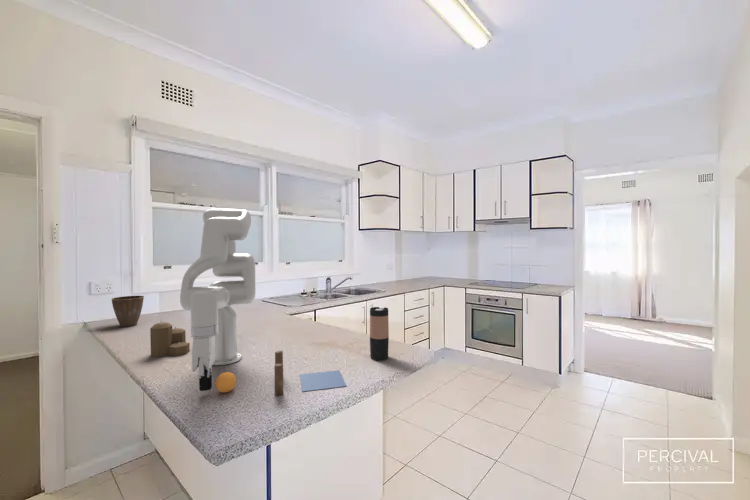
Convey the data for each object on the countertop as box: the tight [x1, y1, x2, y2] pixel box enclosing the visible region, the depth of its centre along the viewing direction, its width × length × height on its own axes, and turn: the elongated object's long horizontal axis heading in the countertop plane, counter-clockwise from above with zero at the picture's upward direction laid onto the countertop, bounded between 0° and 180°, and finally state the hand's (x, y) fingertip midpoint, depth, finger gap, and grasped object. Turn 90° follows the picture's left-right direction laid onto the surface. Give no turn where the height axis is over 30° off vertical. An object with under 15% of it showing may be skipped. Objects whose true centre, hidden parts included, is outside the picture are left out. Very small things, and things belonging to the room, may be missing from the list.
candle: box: [149, 318, 191, 358], centre depth 143 cm, size 14×14×15 cm
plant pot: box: [111, 295, 145, 328], centre depth 191 cm, size 15×15×16 cm
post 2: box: [273, 363, 284, 397], centre depth 103 cm, size 3×3×9 cm
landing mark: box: [299, 369, 347, 393], centre depth 113 cm, size 14×14×1 cm
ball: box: [215, 371, 237, 394], centre depth 105 cm, size 6×6×6 cm
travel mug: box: [369, 306, 390, 362], centre depth 135 cm, size 8×8×20 cm
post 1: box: [274, 350, 284, 365], centre depth 116 cm, size 3×3×9 cm
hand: (205, 389), depth 103 cm, fingers closed
